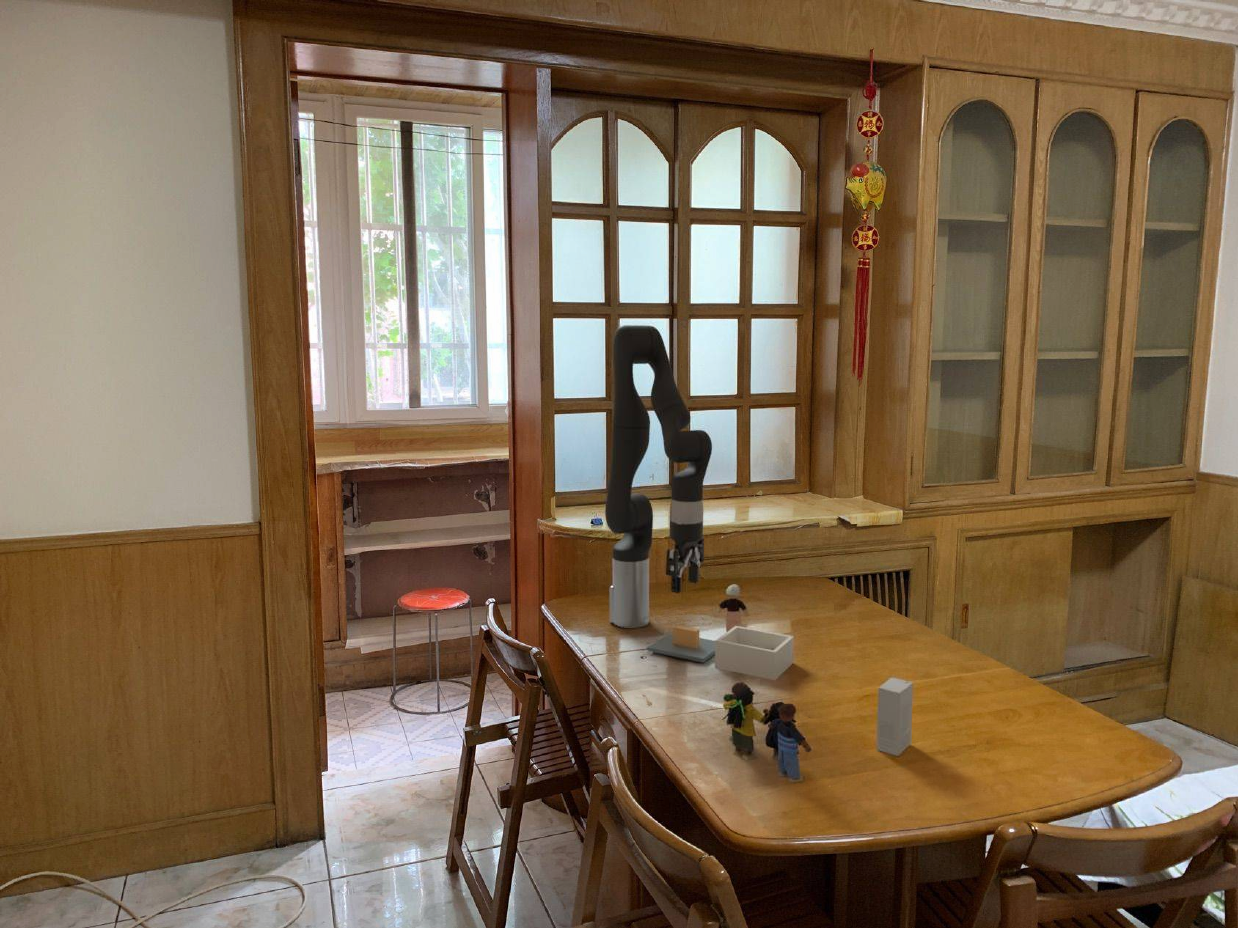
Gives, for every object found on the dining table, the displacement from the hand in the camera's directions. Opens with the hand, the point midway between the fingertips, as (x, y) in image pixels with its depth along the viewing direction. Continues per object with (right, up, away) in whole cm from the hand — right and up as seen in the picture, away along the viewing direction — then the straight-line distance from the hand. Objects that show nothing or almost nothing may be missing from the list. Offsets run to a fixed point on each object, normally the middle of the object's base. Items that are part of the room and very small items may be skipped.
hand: (684, 587), depth 205 cm
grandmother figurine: (+13, -14, +15) cm, 24 cm away
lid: (+1, -15, +3) cm, 16 cm away
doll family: (+11, -24, -47) cm, 54 cm away
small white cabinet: (+15, -17, -6) cm, 24 cm away
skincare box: (+35, -23, -43) cm, 60 cm away
